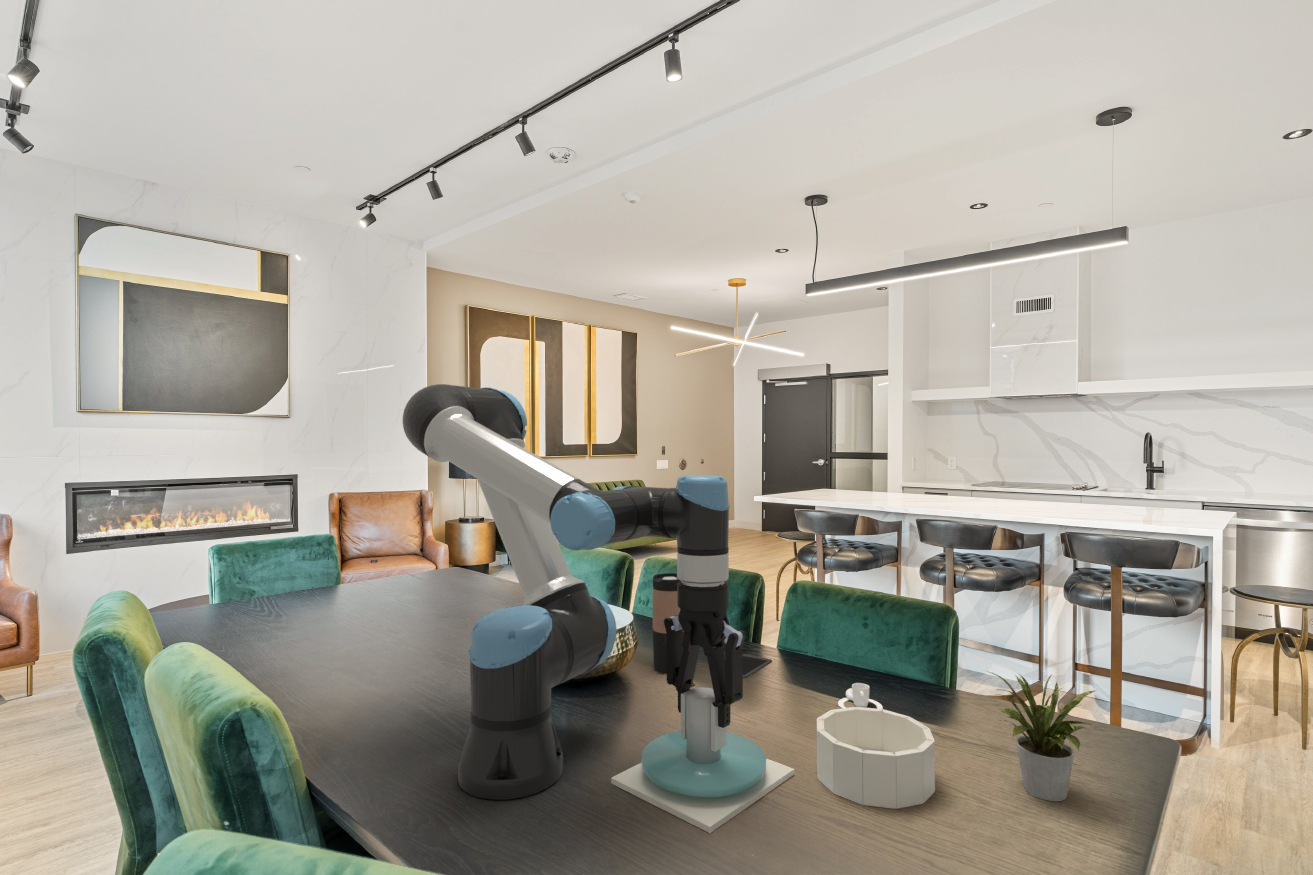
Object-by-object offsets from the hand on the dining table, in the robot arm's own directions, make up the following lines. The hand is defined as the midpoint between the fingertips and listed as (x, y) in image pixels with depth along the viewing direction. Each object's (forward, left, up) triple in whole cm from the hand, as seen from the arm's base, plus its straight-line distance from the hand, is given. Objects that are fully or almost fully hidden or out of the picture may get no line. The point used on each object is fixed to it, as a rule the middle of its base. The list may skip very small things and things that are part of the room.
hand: (703, 741), depth 96 cm
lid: (0, 0, -3) cm, 3 cm away
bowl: (+17, -18, -5) cm, 25 cm away
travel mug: (+32, +35, -6) cm, 48 cm away
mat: (0, 0, -5) cm, 5 cm away
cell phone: (+44, +24, -6) cm, 50 cm away
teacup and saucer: (+44, -6, -6) cm, 44 cm away
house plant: (+29, -36, -6) cm, 47 cm away
